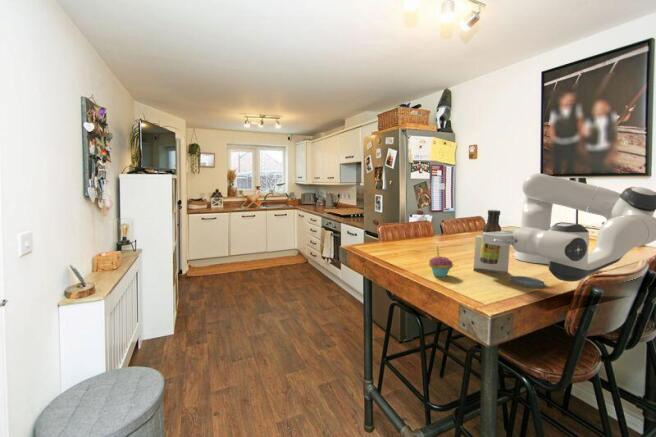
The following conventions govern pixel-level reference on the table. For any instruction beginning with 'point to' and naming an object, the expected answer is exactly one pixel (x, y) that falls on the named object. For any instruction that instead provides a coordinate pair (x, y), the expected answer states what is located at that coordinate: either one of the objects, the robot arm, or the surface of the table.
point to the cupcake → (440, 265)
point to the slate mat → (527, 281)
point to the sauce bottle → (487, 250)
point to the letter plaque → (491, 268)
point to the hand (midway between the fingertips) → (490, 233)
